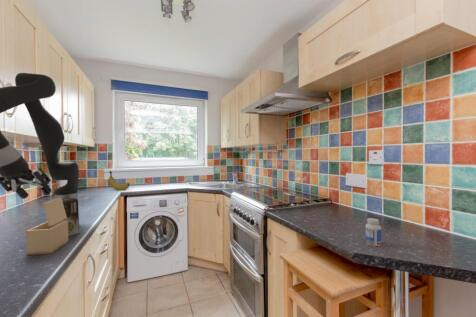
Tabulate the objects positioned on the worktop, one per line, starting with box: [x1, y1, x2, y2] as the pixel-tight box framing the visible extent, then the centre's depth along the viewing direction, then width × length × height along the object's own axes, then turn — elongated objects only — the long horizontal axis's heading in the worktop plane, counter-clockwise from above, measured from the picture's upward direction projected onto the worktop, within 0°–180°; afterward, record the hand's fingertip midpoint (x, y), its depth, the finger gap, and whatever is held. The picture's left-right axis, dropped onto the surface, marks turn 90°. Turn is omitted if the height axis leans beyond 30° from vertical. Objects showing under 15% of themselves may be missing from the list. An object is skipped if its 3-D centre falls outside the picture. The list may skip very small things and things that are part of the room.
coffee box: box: [62, 198, 80, 237], centre depth 100 cm, size 9×6×16 cm
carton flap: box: [42, 197, 67, 226], centre depth 86 cm, size 10×1×9 cm, turn 10°
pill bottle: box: [364, 217, 383, 247], centre depth 87 cm, size 6×5×10 cm
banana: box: [107, 170, 130, 191], centre depth 226 cm, size 23×6×20 cm, turn 83°
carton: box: [25, 221, 70, 256], centre depth 86 cm, size 11×8×9 cm
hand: (37, 195), depth 81 cm, fingers open, 8 cm apart
